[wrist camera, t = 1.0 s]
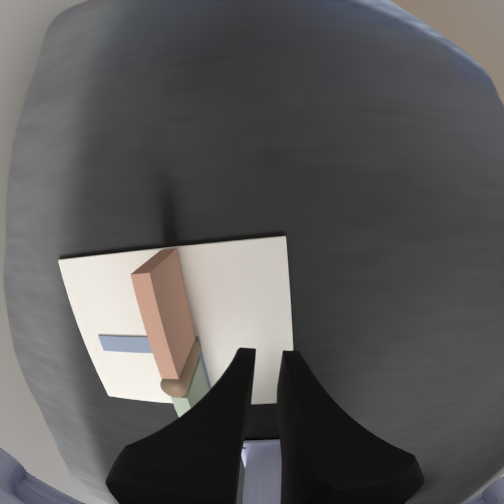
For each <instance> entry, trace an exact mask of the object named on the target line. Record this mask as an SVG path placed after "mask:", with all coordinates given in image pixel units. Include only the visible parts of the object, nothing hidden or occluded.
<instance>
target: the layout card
mask: <svg viewBox="0 0 504 504" xmlns="http://www.w3.org/2000/svg"><path fill="white" fill-rule="evenodd" d="M174 248H177V252H178V257H179V263H180V268H181V274H182V279H183V284H184V289H185V294H186V298H187V303H188V308H189V312H190V317H191V321H192V326H193V330H194V334H195V340H197V341H198V342H199V343H200V345H201V352H200V355H199V358H201V361H202V364H203V368H204V372H205V376H206V380H207V383H208V387H209V390H210V389H211V388H212V387H213V386H214V385H215V383H216V382H217V381H218V380H219V379H220V377H221V376H222V374H223V373H224V372H225V370H226V369H227V368H228V366H229V364H230V363H231V361H232V360H233V358H234V356H235V354H236V352H237V349H239V348H240V347H243V348H255V349H256V359H255V369H254V380H253V390H252V400H251V404H269V403H277V384H278V378H279V372H280V365H281V359H282V352H283V350H286V351H293V335H292V316H291V300H290V285H289V270H288V257H287V244H286V236H276V237H265V238H255V239H244V240H234V241H223V242H213V243H203V244H194V245H184V246H174V247H165V248H155V249H146V250H137V251H128V252H119V253H110V254H101V255H92V256H84V257H75V258H67V259H60V260H58V262H59V266H60V269H61V273H62V277H63V280H64V284H65V287H66V291H67V294H68V297H69V300H70V303H71V306H72V309H73V312H74V315H75V318H76V321H77V324H78V327H79V329H80V332H81V335H82V337H83V340H84V342H85V345H86V347H87V350H88V352H89V354H90V357H91V359H92V361H93V364H94V366H95V368H96V370H97V373H98V375H99V377H100V379H101V381H102V383H103V385H104V387H105V389H106V391H107V393H108V395H109V396H113V397H119V398H127V399H135V400H143V401H153V402H164V403H173V401H172V399H171V396H169V395H167V394H166V393H165V392H164V391H163V390H162V389H161V386H160V383H161V380H162V378H161V376H160V373H159V370H158V367H157V364H156V362H155V359H154V356H153V353H152V350H151V347H150V343H149V340H148V337H147V334H146V331H145V327H144V324H143V321H142V317H141V314H140V310H139V306H138V303H137V299H136V295H135V291H134V287H133V283H132V279H131V275H130V274H131V273H133V272H134V271H135V270H136V269H138V268H139V267H140V266H141V265H143V264H144V263H145V262H146V261H148V260H149V259H150V258H151V257H153V256H154V255H155V254H156V253H158V252H159V251H160V250H164V249H174Z"/></svg>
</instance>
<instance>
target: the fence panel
mask: <svg viewBox="0 0 504 504" xmlns="http://www.w3.org/2000/svg"><path fill="white" fill-rule="evenodd" d="M130 275H131V279H132V283H133V287H134V291H135V295H136V299H137V303H138V306H139V310H140V314H141V317H142V321H143V324H144V327H145V331H146V334H147V337H148V340H149V343H150V347H151V350H152V353H153V356H154V359H155V362H156V364H157V367H158V370H159V373H160V376H161V378H162V380H161V383H160V386H161V389H162V390H163V391H164V392H165V393H166V394H167V395H169V396H172V397H177V398H179V397H183V396H184V395H185V394H186V392H187V389H188V386H189V383H190V380H191V378H192V375H193V372H194V369H195V366H196V363H197V360H198V358H199V355H200V352H201V345H200V343H199V342H198V341H197V340H195V334H194V330H193V326H192V321H191V317H190V312H189V308H188V303H187V298H186V294H185V289H184V284H183V279H182V274H181V268H180V263H179V257H178V252H177V248H174V249H164V250H160V251H159V252H158V253H156V254H155V255H154V256H153V257H151V258H150V259H149V260H148V261H146V262H145V263H144V264H143V265H141V266H140V267H139V268H138V269H136V270H135V271H134V272H133V273H131V274H130Z"/></svg>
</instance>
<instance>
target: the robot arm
mask: <svg viewBox="0 0 504 504" xmlns="http://www.w3.org/2000/svg"><path fill="white" fill-rule="evenodd" d="M255 359H256V349H255V348H243V347H240V348H239V349H237V352H236V354H235V356H234V358H233V360H232V361H231V363H230V364H229V366H228V368H227V369H226V370H225V372H224V373H223V374H222V376H221V377H220V379H219V380H218V381H217V382H216V383H215V385H214V386H213V387H212V388H211V389H210V390H209V391H208V392H207V394H206V395H205V396H204V397H203V398H202V399H201V400H200V401H198V402H197V403H196V404H195V405H194V406H193V407H192V408H191V409H189V410H188V411H187V412H186V413H184V414H183V415H182V416H180V417H179V418H178V419H176V420H175V421H173V422H172V423H170V424H169V425H167V426H165V427H164V428H162V429H160V430H159V431H157V432H155V433H153V434H151V435H150V436H147V437H145V438H143V439H141V440H139V441H136V442H134V443H132V444H130V445H127V446H125V447H124V449H123V450H122V452H121V453H120V454H119V456H118V457H117V459H116V460H115V462H114V464H113V466H112V468H111V470H110V472H109V475H108V477H107V479H106V485H107V487H108V489H109V491H110V492H111V493H112V495H113V496H114V497H115V499H116V500H117V501H118V502H119V504H236V499H237V489H238V479H239V469H240V460H241V456H242V460H243V463H244V467H245V479H244V490H243V501H242V504H405V502H406V501H407V500H408V499H409V498H410V497H412V496H413V495H414V494H415V493H416V492H417V491H418V490H419V488H420V487H421V486H422V484H423V482H424V477H423V474H422V472H421V469H420V466H419V464H418V462H417V460H416V458H415V456H414V455H413V454H410V453H408V452H406V451H404V450H401V449H399V448H397V447H395V446H393V445H391V444H389V443H387V442H386V441H384V440H382V439H380V438H379V437H377V436H375V435H374V434H372V433H371V432H369V431H368V430H367V429H365V428H364V427H363V426H361V425H360V424H359V423H357V422H356V421H355V420H354V419H352V418H351V417H350V416H349V415H348V414H347V413H346V412H345V411H344V410H342V409H341V408H340V407H339V406H338V404H337V403H336V402H335V401H334V400H333V399H332V398H331V397H330V395H329V394H328V393H327V392H326V391H325V389H324V388H323V387H322V386H321V384H320V383H319V381H318V380H317V379H316V377H315V376H314V375H313V373H312V372H311V370H310V368H309V367H308V365H307V364H306V362H305V360H304V359H303V357H302V355H301V354H300V352H299V351H286V350H283V352H282V359H281V365H280V372H279V378H278V384H277V407H276V409H277V419H278V429H279V438H280V439H275V440H247V441H244V439H245V434H246V429H247V424H248V419H249V414H250V409H251V400H252V390H253V380H254V369H255ZM0 504H85V503H82V502H80V501H78V500H76V499H74V498H72V497H70V496H68V495H66V494H63V493H62V492H60V491H58V490H56V489H55V488H53V487H51V486H49V485H47V484H46V483H44V482H42V481H41V480H39V479H37V478H36V477H34V476H32V475H31V474H29V473H28V472H26V470H25V469H24V467H23V466H22V465H21V464H20V463H19V462H18V461H17V460H16V459H15V458H14V457H12V456H11V455H10V454H8V453H7V452H5V451H4V450H3V449H1V448H0ZM461 504H504V476H503V477H501V478H499V479H498V480H496V481H495V482H493V483H492V484H491V485H490V486H488V487H487V488H486V489H485V490H484V491H483V493H481V494H480V495H478V496H476V497H474V498H472V499H470V500H468V501H466V502H463V503H461Z"/></svg>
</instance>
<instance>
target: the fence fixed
mask: <svg viewBox="0 0 504 504" xmlns="http://www.w3.org/2000/svg"><path fill="white" fill-rule="evenodd" d="M208 391H209V387H208V383H207V380H206V376H205V372H204V368H203V364H202V361H201V358H198V360H197V363H196V366H195V369H194V372H193V375H192V378H191V380H190V383H189V386H188V389H187V392H186V394H185V395H184V396H183V397H179V398H177V397H172V396H171V399H172V401H173V404H174V406H175V409H176V411H177V414H178V416H179V417H180V416H182V415H183V414H184V413H186V412H187V411H188V410H189V409H191V408H192V407H193V406H194V405H195V404H196V403H197V402H198V401H200V400H201V399H202V398H203V397H204V396H205V395H206V394H207V392H208Z"/></svg>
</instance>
